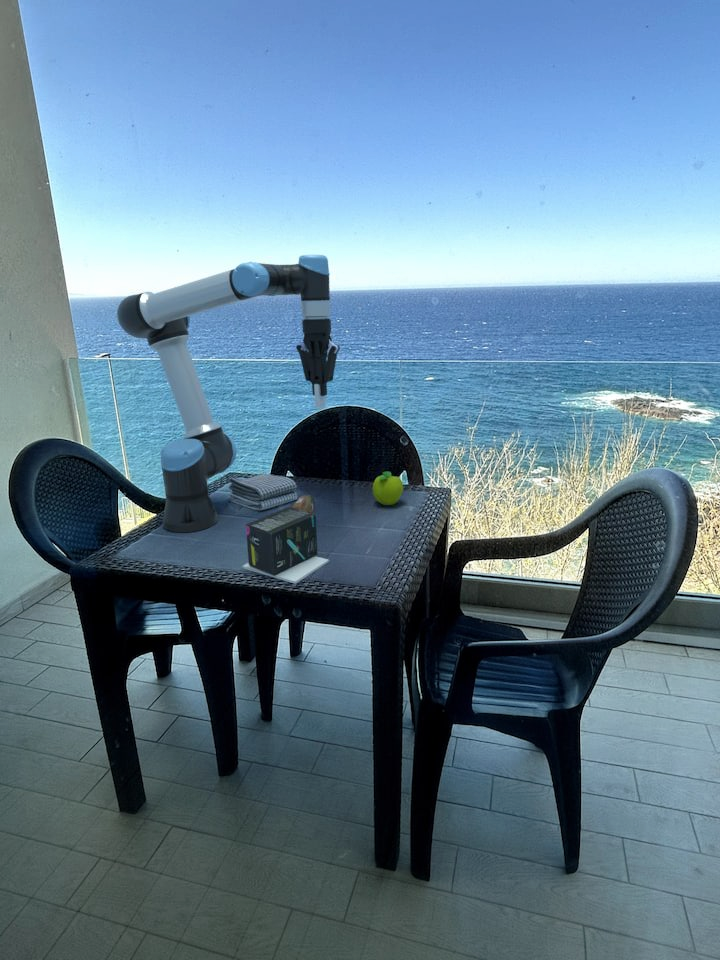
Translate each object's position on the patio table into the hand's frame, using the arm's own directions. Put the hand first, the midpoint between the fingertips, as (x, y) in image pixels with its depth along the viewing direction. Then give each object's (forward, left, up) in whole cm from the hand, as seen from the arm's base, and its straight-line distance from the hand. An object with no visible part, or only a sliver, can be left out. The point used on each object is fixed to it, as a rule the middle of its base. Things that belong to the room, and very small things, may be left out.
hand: (320, 407), depth 160 cm
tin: (-1, -9, -33) cm, 34 cm away
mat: (+10, -30, -32) cm, 45 cm away
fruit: (+10, +19, -33) cm, 39 cm away
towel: (-27, +3, -33) cm, 42 cm away
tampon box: (+10, -22, -26) cm, 36 cm away
